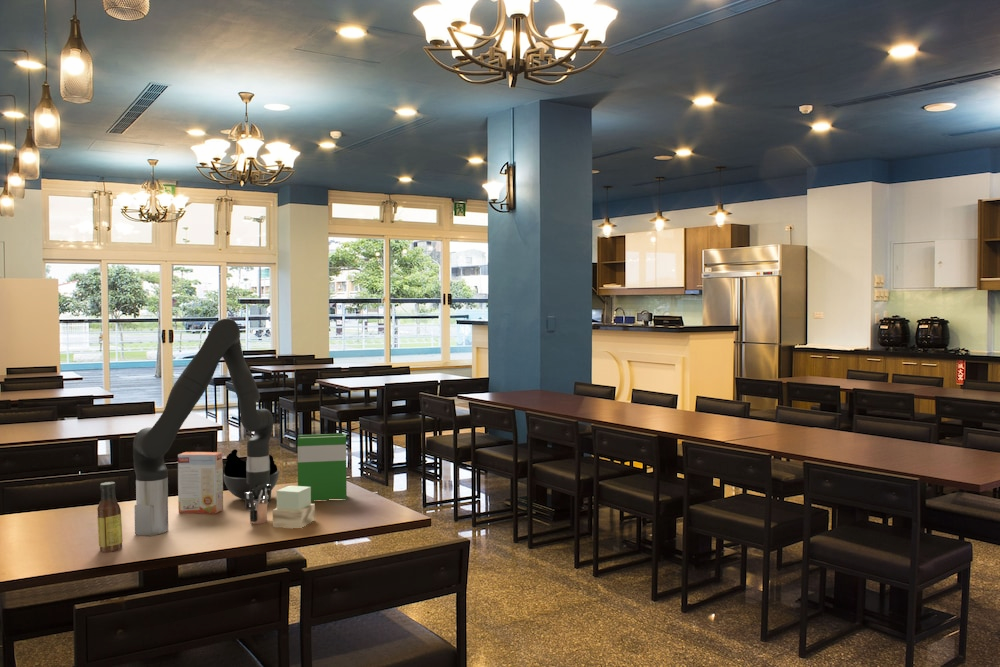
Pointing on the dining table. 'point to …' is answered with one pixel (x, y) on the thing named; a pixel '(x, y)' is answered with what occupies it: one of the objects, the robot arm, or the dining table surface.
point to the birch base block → (293, 517)
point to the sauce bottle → (109, 519)
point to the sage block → (293, 497)
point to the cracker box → (200, 482)
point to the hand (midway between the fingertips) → (258, 518)
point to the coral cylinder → (261, 513)
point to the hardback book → (323, 465)
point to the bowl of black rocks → (243, 475)
